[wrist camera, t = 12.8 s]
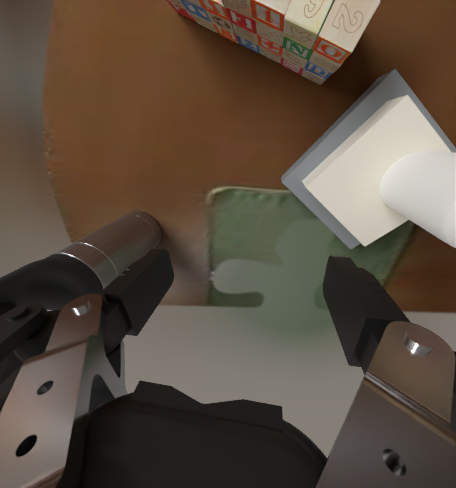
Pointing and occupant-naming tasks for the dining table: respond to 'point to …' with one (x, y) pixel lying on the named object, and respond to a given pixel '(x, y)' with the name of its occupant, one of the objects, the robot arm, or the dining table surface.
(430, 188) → the can
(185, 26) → the dining table surface
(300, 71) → the stack of blocks
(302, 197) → the tower base
